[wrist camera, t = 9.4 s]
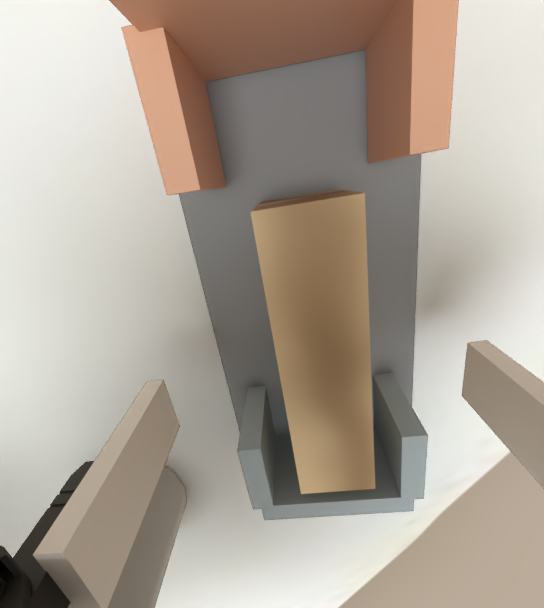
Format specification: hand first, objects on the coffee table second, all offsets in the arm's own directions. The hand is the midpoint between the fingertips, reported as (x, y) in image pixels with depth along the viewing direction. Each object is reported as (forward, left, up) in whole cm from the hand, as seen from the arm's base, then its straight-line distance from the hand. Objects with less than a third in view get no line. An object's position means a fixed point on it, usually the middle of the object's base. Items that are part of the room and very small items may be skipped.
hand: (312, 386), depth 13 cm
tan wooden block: (+1, 0, -5) cm, 5 cm away
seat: (0, +3, -6) cm, 6 cm away
